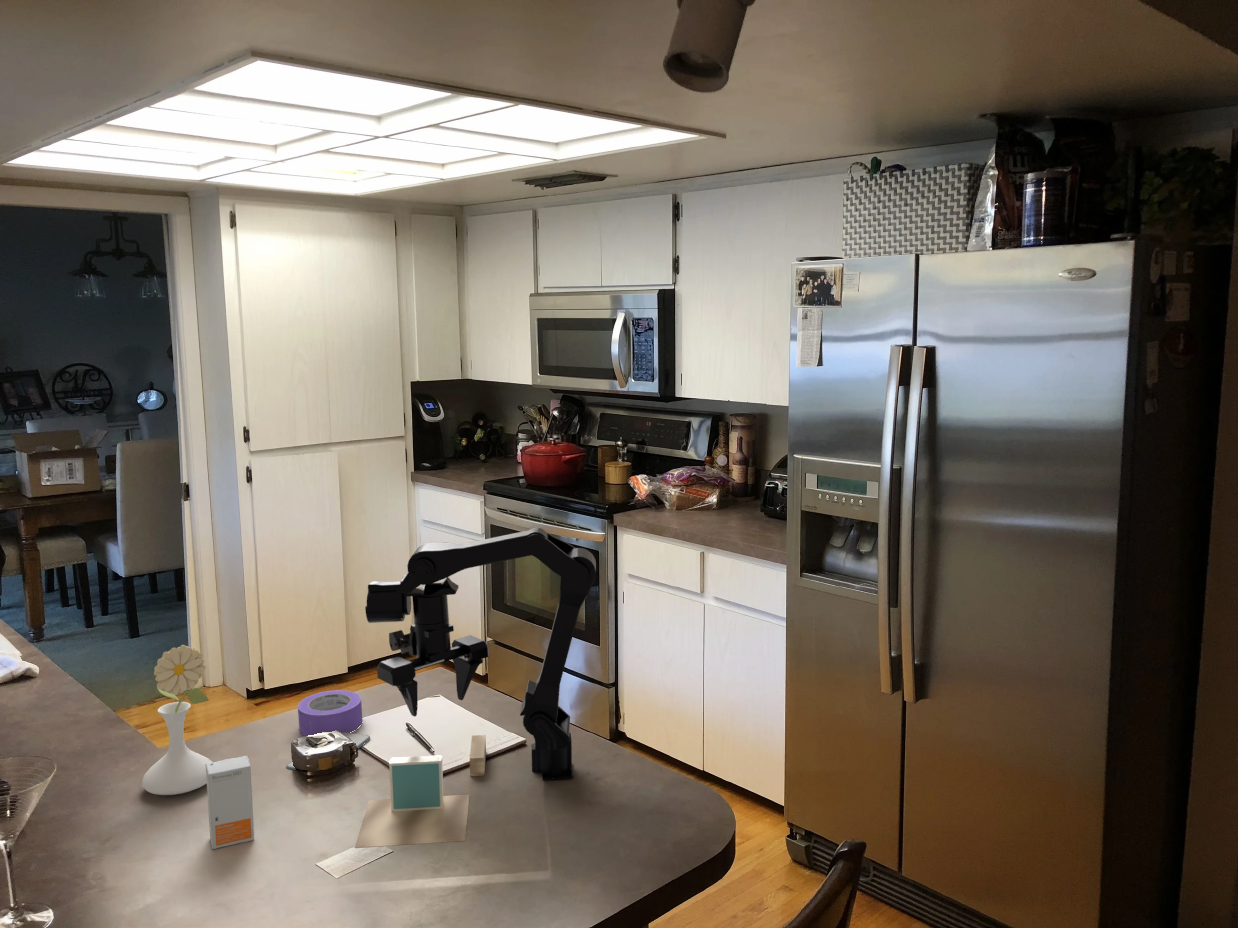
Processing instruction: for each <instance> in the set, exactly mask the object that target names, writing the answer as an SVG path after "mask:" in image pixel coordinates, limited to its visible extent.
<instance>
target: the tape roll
mask: <svg viewBox="0 0 1238 928" xmlns="http://www.w3.org/2000/svg"><path fill="white" fill-rule="evenodd" d="M362 707H363V706H362V696H361V695H360V694H358V693H357V692H355V691H352V690H346V689H345V690H344V689H343V690H342V689H333V690H326V691H321V692H318V693H314V694H311V695H309V696H307V697H305V698H303V699H302V700H300V702H298V705H297V714H298V715H297V717H298V728H299V733H300V734H301V735H302V736H304V737H306V736H308V735H314V734H317V733H322V732H332V731H335V730H337V731H339V732H341V733H344V732H349V733H350V732H352V731H354V730H356V729H357V728H358V727H359V726H360V725H361V724H362V725H363V723H362V722H363V721H364V720H363V708H362ZM362 725H361V726H362ZM357 730H358V729H357ZM357 730H356V731H357ZM354 732H355V731H354ZM352 733H353V732H352Z"/></svg>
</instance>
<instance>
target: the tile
mask: <svg viewBox="0 0 1238 928" xmlns="http://www.w3.org/2000/svg"><path fill="white" fill-rule="evenodd" d="M388 764H389V766H388V767H389V768H388V769H389V789H390V791H389V792H390V799H391V811H406V810H423V809H440V808H443V804H444V796H445V795H444V775H443V774H444V773H443V770H444V768H443V754H439V755H438V754H437V755H417V756H416V755H415V756H399V757H390V760H389V763H388Z"/></svg>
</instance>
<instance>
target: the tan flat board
mask: <svg viewBox="0 0 1238 928" xmlns="http://www.w3.org/2000/svg"><path fill="white" fill-rule="evenodd" d="M443 796H444V804H443V808H440V809H423V810H406V811H391V798H386V799H385V798H384V799H383V798H382V799H369V800H368V803H367V807H366V810H365V813H364V816H363V819H362V823H361V826H360V829H359V833H358V835H357V840H356V843H355V846H354V848H355V849H357V848H358V849H359V848H373V847H374V848H375V847H378V848H379V847H390V846H392V847H393V846H407V845H409V846H411V845H423V844H424V845H425V844H439V843H440V844H442V843H456V842H466V835H467V823H468V814H469V813H468V812H469V806H470V805H469V802H470V794H455V795H454V794H452V795H443Z"/></svg>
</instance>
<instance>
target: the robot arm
mask: <svg viewBox="0 0 1238 928" xmlns="http://www.w3.org/2000/svg"><path fill="white" fill-rule="evenodd" d="M530 556H531V557H532V556H533V557H534V558H535V559H538V560H539V561H540V562H541V563H542V564H544V565H545V567H547V568H548V569H550V570H551V571H552V572H553V573H555V574H557V575H558V576H559V577H560V583H559V584H560V586H559V600H558V603H557V607H556V612H555V616H554V620H553V624H552V629H551V631H550V635H549V639H548V642H547V647H546V650H545V655H544V659H543V662H542V665H541V669H540V670H541V671H540V673H539V674H538V678H537V679H536V680H535V681H533V680H531V679H528V680H527V684H526V691H525V696H524V697H523V698H522V700H521V701H522V702H521V706H520V707H521V708H520V712H519V713H520V714H519V716H520V717H523V718H522V725H523V727H524V729H525V730H526V731H527V733H529V734H530V735H532V736H533V739H534V742H533V743H531V745H530V746H531V748H530V750H531V772H532V773H536V774H542V775H541V777H542V780H543V781H547V780H548V781H549V780H550V781H551V780H565V779H566V780H567V779H573V778H574V769H573V746H572V745H573V744H572V743H573V742H572V741H573V740H572V734H571V732H570V731H571V729H570V728H571V716H570V714H568V713H567V712H566V711H565V710H564V709H563V708H562V707H561V706H559V704H560V703H559V701H560V690H561V688H560V687H561V682H562V678H563V675H564V670H565V667H566V664H567V659H568V655H569V652H570V647H571V644H572V640H573V637H574V636H573V635H574V633H575V629H576V624H577V622H578V617H579V613H580V610H581V608H582V606H583V604H584V603H585V601H586V599H587V597H588V595H589V593H590V590H591V589H592V587H593V585H594V582H595V581H596V576H597V575H596V574H597V562H596V558H595V556H594V554H593V553H592V552H590V551H589V550H588V549H586V548H583V547H575V546H573V545H571V544H569V542H567V541H564V540H562V539H560V538H558V537H556V536H554V535H552V534H550V533H549V532H547V531H546V530H545V529H543V528H541V527H532V528H530V529H529V530H524V531H519V532H515V533H509V534H505V535H500V536H494V537H490V538H484V539H480V540H475V541H470V542H465V543H464V542H463V543H462V542H461V543H454V542H426V543H423V544H421V545H420V546H418V547H417V548H416V550H415V551H414V553H413V554H412V555H411V557H410V558H409V559H408V563H407V573H405V574H404V575H403V576H402V578H401V579H400V581H379V580H378V581H377V580H376V581H373V580H372V581H371V582H369V583H368V585H367V596H366V605H365V609H364V610H365V617H366V620H367V623H369V624H375V623H377V624H378V623H396V622H404V621H405V619H406V616H410V615H411V612H412V609H413V621H414V622H413V623H414V624H410V628H409V630H410V631H409V633H405V634H404V631H403V630H402V629H399V630H397V631H391V632H389V633H388V642H389V643H388V644H389V646H390V650H391V651H392V652H394V651H399V650H400V653H401V655H403V654H407V653H408V655H410V656H413V657H414V656H416V658H413V659H410V660H406V659H405V658H403V657H401V656H396V657H392V658H389V659H388V658H387V659H386V660H382V661H380V662H379V664H378V665H377V668H376V673H377V676H376V677H377V679H379V680H381V681H382V682H384V683H386V684H389V685H390V686H392V687H396V688H397V689H398V691H399V692H400V694H401V696H402V698H403V700H404V702H405V704H406V706H407V708H408V710H409V713H410V715H411V716H412V717H417V715H418V704H419V703H418V700H419V699H418V681H417V680H415V677H416V672H417V671H420V670H422V669H426V668H429V667H432V666H436V665H439V664H443V663H445V662H448V661H452V662H453V664H454V668H455V681H456V695H457V699H458V700H460V701H463V700H464V699H465V696H466V694H467V691H468V690H469V686H470V684H471V682H472V679H473V677H475V676H474V675H475V674H476V671H477V670H478V667H479V666H480V665H481V664H483V663H484V659H486V658H488V657H489V656H490V652H489V651H490V649H489V645H488V643H487V642H486V640H483V639H482V638H478V637H476V636H473V635H467V636H463V637H460V638H457V639H454V640H453V641H452V643H451V632H454V631H455V630H454V629H455V628H454V625H453V624H450V621H449V620H450V619H449V615H450V614H449V603H448V596H453V595H456V594H457V591H458V590H459V585H458V584H457V583H455V582H454V581H452V580H451V579H450V577H451V576H453V575H455V574H457V573H460V572H461V571H463V570H467V569H471V568H475V567H481V566H486V565H490V564H495V563H500V562H507V561H510V560H515V559H520V558H521V559H522V558H525V557H530ZM442 580H444V581H442ZM440 581H442V582H440ZM421 585H422V586H423V587H419V586H421Z"/></svg>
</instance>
